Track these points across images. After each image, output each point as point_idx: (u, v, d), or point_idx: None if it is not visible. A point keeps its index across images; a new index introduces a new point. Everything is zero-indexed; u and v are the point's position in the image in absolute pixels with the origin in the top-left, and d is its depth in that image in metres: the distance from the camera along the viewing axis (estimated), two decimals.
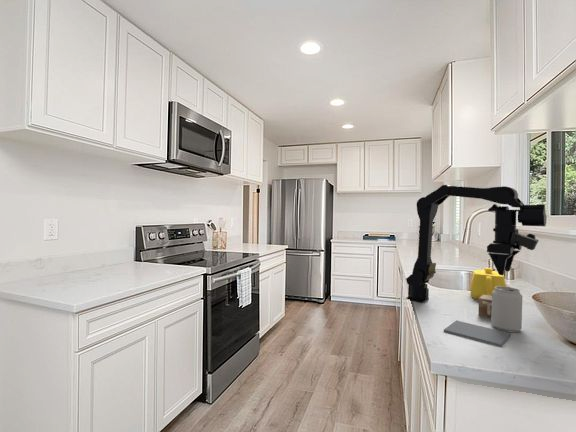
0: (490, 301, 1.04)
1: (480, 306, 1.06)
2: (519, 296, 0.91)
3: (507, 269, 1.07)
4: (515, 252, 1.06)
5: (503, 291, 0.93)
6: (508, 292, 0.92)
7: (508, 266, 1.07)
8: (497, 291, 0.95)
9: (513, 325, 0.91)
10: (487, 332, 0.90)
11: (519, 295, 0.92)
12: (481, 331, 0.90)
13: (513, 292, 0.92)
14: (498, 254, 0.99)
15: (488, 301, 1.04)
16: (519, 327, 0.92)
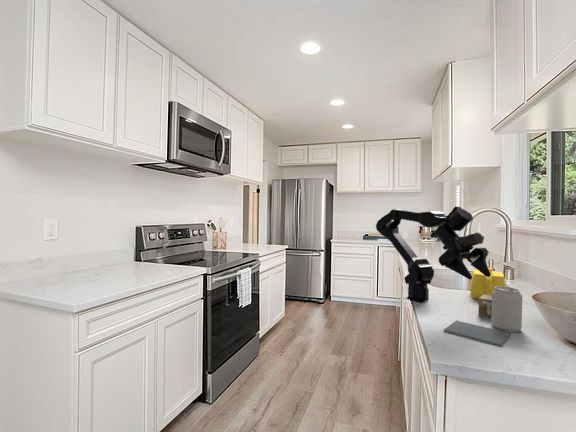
0: (490, 301, 1.04)
1: (480, 306, 1.06)
2: (519, 296, 0.91)
3: (487, 274, 1.04)
4: (481, 256, 1.07)
5: (503, 291, 0.93)
6: (508, 292, 0.92)
7: (486, 271, 1.05)
8: (497, 291, 0.95)
9: (513, 325, 0.91)
10: (487, 332, 0.90)
11: (519, 295, 0.92)
12: (481, 331, 0.90)
13: (513, 292, 0.92)
14: (450, 262, 1.03)
15: (488, 301, 1.04)
16: (519, 327, 0.92)
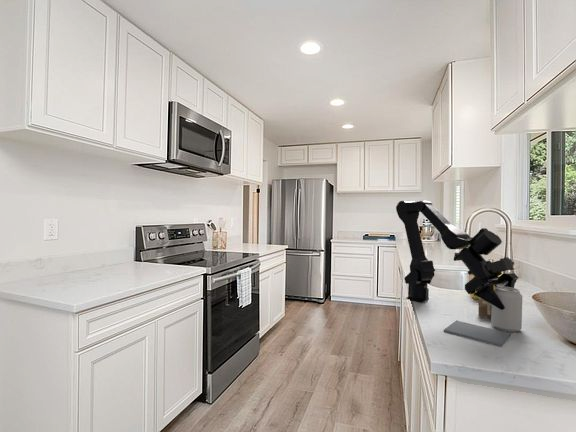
0: None
1: (480, 306, 1.06)
2: (519, 296, 0.91)
3: None
4: (509, 283, 0.98)
5: (503, 291, 0.93)
6: (508, 292, 0.92)
7: None
8: (497, 291, 0.95)
9: (513, 325, 0.91)
10: (487, 332, 0.90)
11: (519, 295, 0.92)
12: (481, 331, 0.90)
13: (513, 292, 0.92)
14: (479, 290, 0.95)
15: None
16: (519, 327, 0.92)
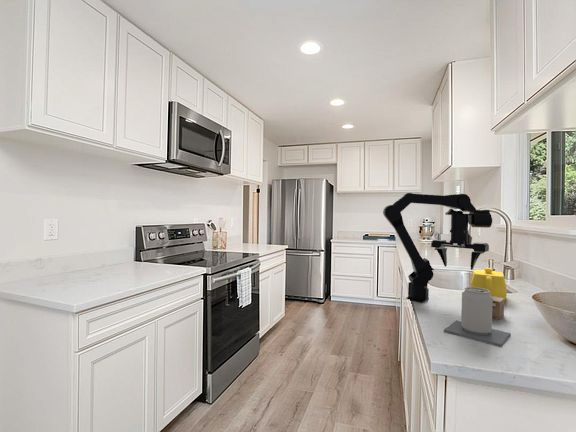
0: None
1: None
2: (485, 297, 0.87)
3: (446, 264, 1.25)
4: (446, 249, 1.26)
5: (469, 291, 0.90)
6: (473, 292, 0.89)
7: (446, 262, 1.25)
8: (465, 291, 0.91)
9: (477, 327, 0.87)
10: None
11: (485, 296, 0.87)
12: None
13: (478, 293, 0.88)
14: (482, 252, 1.16)
15: None
16: (485, 330, 0.87)
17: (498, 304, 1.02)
